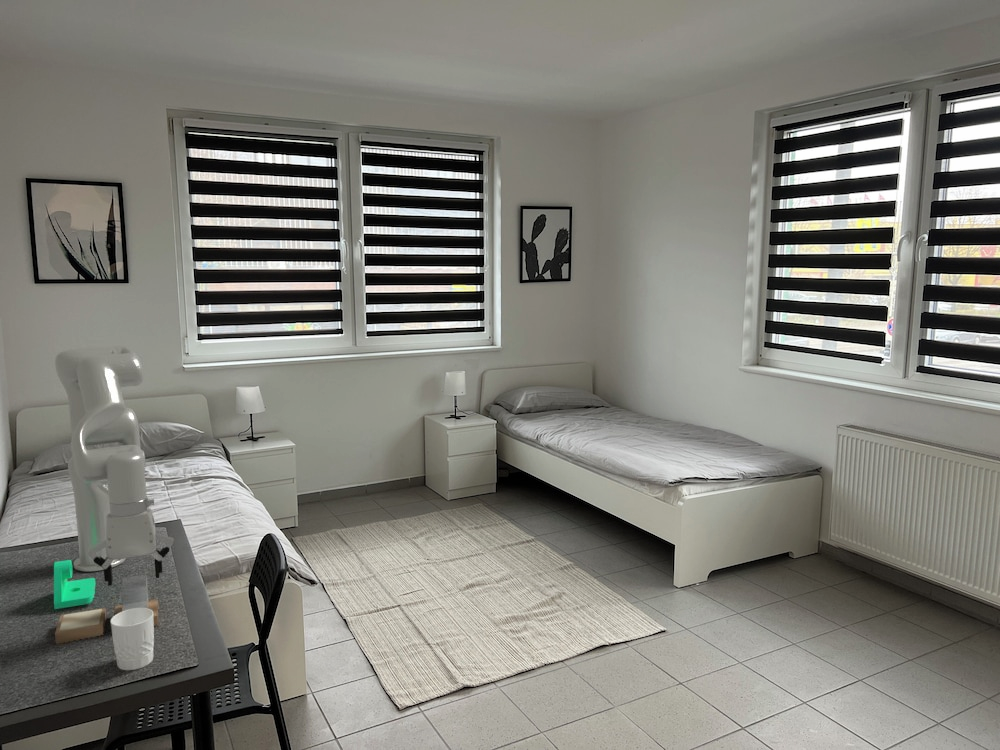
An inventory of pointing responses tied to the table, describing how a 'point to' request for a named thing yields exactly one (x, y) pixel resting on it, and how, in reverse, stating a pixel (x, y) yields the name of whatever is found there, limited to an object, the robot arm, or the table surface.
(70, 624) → the stand
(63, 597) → the camera mount
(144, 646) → the white cup
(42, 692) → the table surface
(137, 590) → the block
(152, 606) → the stand
